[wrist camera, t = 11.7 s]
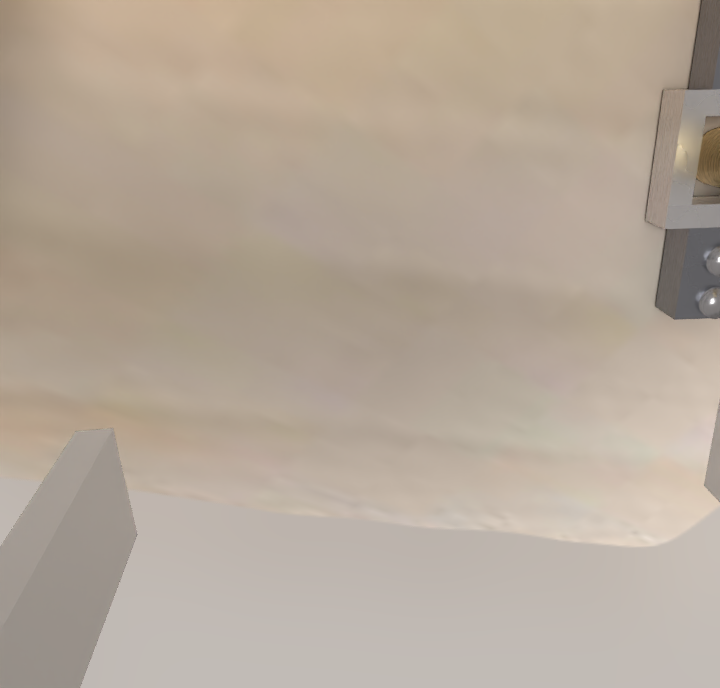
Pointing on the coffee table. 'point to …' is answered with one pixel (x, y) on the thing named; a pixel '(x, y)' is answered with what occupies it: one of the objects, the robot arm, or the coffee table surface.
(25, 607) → the robot arm
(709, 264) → the chain joint
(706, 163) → the pin
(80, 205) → the coffee table surface
